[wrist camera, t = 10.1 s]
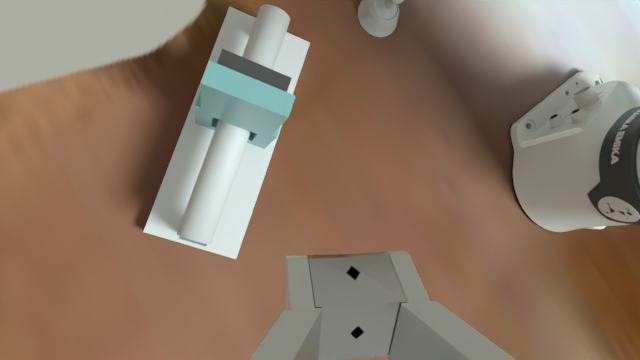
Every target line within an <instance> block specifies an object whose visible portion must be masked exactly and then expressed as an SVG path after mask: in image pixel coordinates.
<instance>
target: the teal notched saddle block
mask: <svg viewBox="0 0 640 360" xmlns="http://www.w3.org/2000/svg"><path fill="white" fill-rule="evenodd" d="M295 97H296V96H294V95H292V94H290V93H288V92H285V91H283V90H280V89H278V88H276V87H273V86H271V85H268V84H266V83H263V82H261V81H259V80H256V79H254V78H251V77H249V76H246V75H244V74H242V73H239V72H237V71H234V70H232V69H229V68H227V67H225V66H222V65H220V64H217V63H215V62H212V61H209V62H208V65H207V68H206V70H205V73H204V75H203V78H202V81H201V90H200V93H199V96H198V98H197V101H196V104H195V122H196V124H199V125H201V126H204V127H207V128H209V129H212V130H215V128H216V126H217V123H218V120H221V121H224V122H227V123H229V124H232V125H235V126H237V127H240V128H243V129H245V130H248V131H251V132H250V135H249V138H248V141H247V143H250V144H253V145H255V146H258V147H261V148H263V149H265V148H266V147H267V146H268V145H269V144H270V143H271V142H272V141H273V140H275V139H276V138H277V135H278V132H279V129H280V127H281V125H282V124H283V123H284V122H285V121H286V120H287V119H288V117H289V114H290V112H291V109H292V106H293V103H294V100H295Z"/></svg>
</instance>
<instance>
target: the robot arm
mask: <svg viewBox="0 0 640 360" xmlns="http://www.w3.org/2000/svg"><path fill="white" fill-rule="evenodd" d="M526 125H527V128H526ZM511 139H512V144H513V148H514V162H513V182H514V188H515V192H516V195H517V198H518V200H519V202H520V204H521V206H522V208H523V210H524V211H525V212H526V214H527V215H528V216H529V217H530V218H531V219H532V220H533V221H534V222H535V223H536V224H538V225H539V226H541V227H543V228H545V229H547V230H550V231H554V232H566V231H570V230H575V229H581V228H587V229H603V228H605V227H606V226H615V225H637V226H640V90H639V89H638V88H636V87H635V86H633V85H632V84H630V83H627V82H624V81H610V82H605V81H604V80H603V79H601V78H600V77H599V76H597V75H595V74H593V73H591V72H588V71H581V72H578V73H576V74H575V75H573V76H572V77H571V78H570V79H568V80H567V81H566V82H565V83H563V84H562V85H561V86H560V87H558V88H557V89H556V90H555V91H553V92H552V93H551V94H550V95H549V96H547V97H546V98H545V99H544V100H542V101H541V102H540V103H539V104H537V105H536V106H535V107H534V108H532V109H531V110H530V111H529V112H528V113H526V114H525V115H524V116H523V117H521V118H520V119H519V120H518V121H516V122H515V123H514V124H513V125H512V127H511ZM380 356H389V359H390V360H515V359H514V358H513V357H511V356H510V355H509V354H507V353H506V352H505V351H503V350H502V349H501V348H499V347H498V346H497V345H495V344H494V343H493V342H491V341H490V340H488V339H487V338H486V337H484V336H483V335H482V334H480V333H479V332H478V331H476V330H475V329H474V328H472V327H471V326H470V325H468V324H467V323H466V322H464V321H463V320H462V319H460V318H459V317H458V316H456V315H455V314H453V313H452V312H451V311H449V310H448V309H447V308H445V307H444V306H443V305H441V304H440V303H439V302H437V301H430V299H429V297H428V294H427V292H426V290H425V288H424V285H423V283H422V281H421V279H420V277H419V274H418V272H417V270H416V268H415V266H414V263H413V261H412V259H411V257H410V255H409V253H408V252H407V251H393V252H386V253H385V252H379V253H360V254H340V255H307V256H286V273H285V310H283V312H282V313H281V315H280V316H279V318H278V319H277V321H276V322H275V324H274V325H273V326H272V328H271V329H270V331H269V332H268V334H267V335H266V337H265V338H264V340H263V341H262V343H261V344H260V346H259V347H258V348H257V350H256V351H255V353H254V354H253V356H252V357H251V359H250V360H338V359H347V358H360V357H380Z"/></svg>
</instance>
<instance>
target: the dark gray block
mask: <svg viewBox="0 0 640 360" xmlns="http://www.w3.org/2000/svg"><path fill="white" fill-rule="evenodd" d="M217 64H220V65H222V66H225V67H227V68H229V69H232V70H234V71H237V72H239V73H242V74H244V75H246V76H249V77H251V78H254V79H256V80H259V81H261V82H263V83H266V84H268V85H271V86H273V87H276V88H278V89H280V90H283V91H285V92H287V90H288V87H289V84H290V81H291V79H292V78H291V77H289V76H286V75H284V74H281V73H279V72H277V71H274V70H272V69H270V68H267V67H265V66H263V65H260V64H258V63H255V62H253V61H251V60H248V59H246V58H244V57H241V56H239V55H237V54H234V53H232V52H229V51H227V50H225V49H222V51H221V54H220V56H219V59H218V61H217Z"/></svg>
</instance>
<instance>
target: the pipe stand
mask: <svg viewBox="0 0 640 360" xmlns="http://www.w3.org/2000/svg"><path fill="white" fill-rule="evenodd" d="M289 22H290V17H289V16H288V14H287V13H286V12H285V11H283V10H282V9H280V8H278V7H276V6H273V5H262V6H261V7H260V9H259V12H258V15H257V17H256V18H254V17H252V16H250V15H248V14H245V13H243V12H241V11H239V10H237V9H234V8H232V7H230V6H229V9H228V11H227V14H226V17H225V19H224V22H223V25H222V27H221V30H220V32H219V35H218V38H217V40H216V43H215V46H214V48H213V51H212V53H211V56H210V59H209V61H212V62H215V63H217V61H218V59H219V56H220V54H221V51H222V49H225V50H227V51H229V52H232V53H234V54H237V55H239V56H241V57H244V58H246V59H248V60H251V61H253V62H255V63H258V64H260V65H263V66H265V67H267V68H270V69H272V70H274V71H277V72H279V73H281V74H284V75H286V76H289V77H291V78H292V79H291V81H290V84H289V87H288V90H287V92H288V93H290V94H293V92H294V89H295V86H296V83H297V80H298V77H299V74H300V71H301V68H302V65H303V62H304V59H305V57H306V54H307V51H308V48H309V45H310V42H308V41H305V40H303V39H301V38H299V37H296V36H294V35H292V34H290V33H288V32H286V31H287V28H288V25H289ZM209 61H208V62H209ZM207 65H208V64H207ZM206 68H207V66H206ZM205 70H206V69H205ZM204 73H205V72H204ZM203 75H204V74H203ZM202 78H203V77H202ZM201 81H202V80H201ZM200 90H201V82H200V85H199V87H198V90H197V93H196V95H195V98H194V100H193V103H192V106H191V108H190V111H189V114H188V116H187V119H186V121H185V124H184V127H183V129H182V132H181V135H180V137H179V140H178V142H177V145H176V148H175V150H174V153H173V155H172V158H171V161H170V163H169V166H168V169H167V171H166V174H165V176H164V179H163V182H162V184H161V187H160V189H159V192H158V195H157V197H156V200H155V203H154V205H153V208H152V210H151V213H150V216H149V218H148V221H147V224H146V226H145V229H144V231H143V232H145V233H149V234H152V235H156V236H159V237H162V238H166V239H169V240H173V241H176V242H179V243H183V244H186V245H190V246H193V247H196V248H200V249H203V250H207V251H210V252H213V253H217V254H220V255H223V256H227V257H230V258H234V259H236V258H237V255H238V252H239V249H240V246H241V243H242V240H243V237H244V235H245V232H246V229H247V226H248V223H249V220H250V217H251V214H252V211H253V208H254V205H255V202H256V200H257V197H258V194H259V191H260V188H261V185H262V182H263V179H264V176H265V173H266V170H267V167H268V164H269V162H270V159H271V156H272V153H273V150H274V147H275V144H276V141H277V138H278V135H279V132H280V129H281V127H282V125H281V127H280V129H279V132H278V135H277V138H276V139H275V140H273V141H272V142H271V143H270V144H269V145H268V146H267V147H266V148H265V149H263V148H261V147H258V146H255V145H253V144H250V143H247V141H248V138H249V135H250V132H251V131H248V130H245V129H243V128H240V127H237V126H235V125H232V124H229V123H227V122H224V121H221V120H218V123H217V126H216V128H215V130H212V129H209V128H207V127H204V126H201V125H199V124H196V122H195V104H196V101H197V98H198V96H199V93H200Z"/></svg>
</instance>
